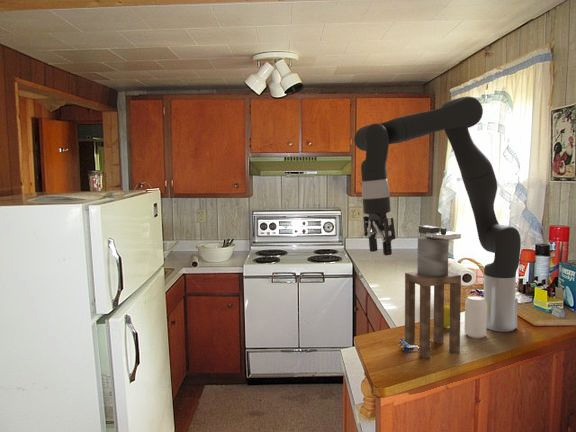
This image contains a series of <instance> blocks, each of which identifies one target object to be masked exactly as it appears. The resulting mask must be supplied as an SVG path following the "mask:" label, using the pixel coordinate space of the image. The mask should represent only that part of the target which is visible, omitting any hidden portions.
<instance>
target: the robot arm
mask: <svg viewBox="0 0 576 432" xmlns="http://www.w3.org/2000/svg"><path fill="white" fill-rule="evenodd" d="M483 113H484V109H483V105H482V103H481V102H480V100H479V99H478V98H476V97H474V96H468V95H467V96H461V97H457V98H454V99H450V100H447V101H445V102H444V103H443V104H442V105H441V107H440V108H436V109H432V110H427V111H421V112H417V113H411V114H407V115H403V116H399V117H396V118H392V119H390V120H388V121H384V122H380V123H377V122H376V123H371V124H368V125H365V126H362V127H360V128H359V129H357V131H356V132H355V134H354V137H353V139H354V140H353V142H354V144H355V147H357V149H359V150H360V151H363V152H366V153H365V159H364V160H363V161H362V162H361V165H360V174H361V196H362V206H363V208H362V209H363V210H362V211H363V214H365V216H363V235H364V237H366V238H367V239H368V247H369V248H368V249H369V252H372V253H373V252H377V251H378V239H377V236H378V237H380V238H381V241H382V251H383V252H382V253H383V256H391V255H392V254H393V253H392V241H393V240H396V232H395V221H394V220H395V219H394V217H388V216H387V214H388V213H391V211H392V210H391V208H392V207H391V199H390V187H389V186H390V185H389V183H388V173H387V160H388V153H389V147H390V145H393V144H399V143H403V142H407V141H411V140H414V139H418V138H421V137H424V136H427V135H430V134H434V133H436V132H441V131H444V133H445V135H446V137H447V140H448V141H449V144H450V146H451V148H452V151H453V154H454V157H455V160H456V163H457V166H458V169H459V171H460V176H461V179H462V183H463V185H464V189H465V191H466V193H467V196H468V200H469V204H470V206H471V210H472V214H473V216H474V221H475V226H476V231H477V237H478V240H479V244H480V246H481V247H482V248H483V249H484V251H487V252H489V253H493V254H494V258H493V261H492V263H487V264H485V265H484V268H483V272H484V273H483V297H484V298H485V301H486V303H487V329H486V330H490V331H493V332H494V331H495V332H501V333H503V332H504V333H506V332H513V331H515V329H517V328H518V305H519V304H518V303H519V302H518V298H516V289H517V287H516V285H517V284H516V281H517V280H516V279H517V270H518V268H519V266H520V258H521V249H522V248H521V246H522V241H521V234H520V232H519V230H518V229H516V228H515V227H513V226H510V225H503V224H500V223H499V222H498V219H497V215H496V212H495V200H496V196H497V192H498V191H497V190H498V181H497V177H496V174H495V171H494V168H493V164H492V163H491V161H490V160H489V159H488V157H487V156H486V155H485V153H483V152H482V151H481V149H480V148H479V147H478V146H477V145H476V144H475V142H474V140H473V139H472V136H471V134H470V130H469V128H473V127H474V126H475V125H477V124H478V123H479V122H480V121H481V120H482V117H483V115H484V114H483Z"/></svg>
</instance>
